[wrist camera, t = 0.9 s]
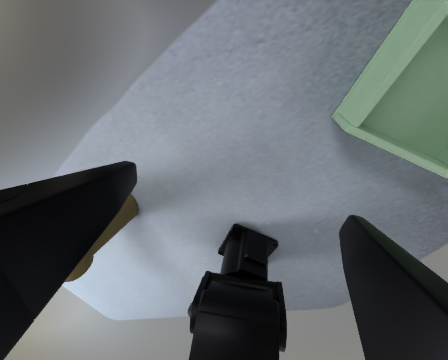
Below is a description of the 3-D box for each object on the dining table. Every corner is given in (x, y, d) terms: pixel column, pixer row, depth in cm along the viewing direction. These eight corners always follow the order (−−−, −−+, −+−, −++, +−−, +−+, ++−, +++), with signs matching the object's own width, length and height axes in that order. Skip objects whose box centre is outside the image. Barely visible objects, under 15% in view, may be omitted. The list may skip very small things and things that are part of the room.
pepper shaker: (144, 201, 29) (85, 274, 19) (130, 225, 32) (73, 297, 22) (103, 176, 27) (21, 241, 18) (93, 204, 31) (18, 270, 21)
